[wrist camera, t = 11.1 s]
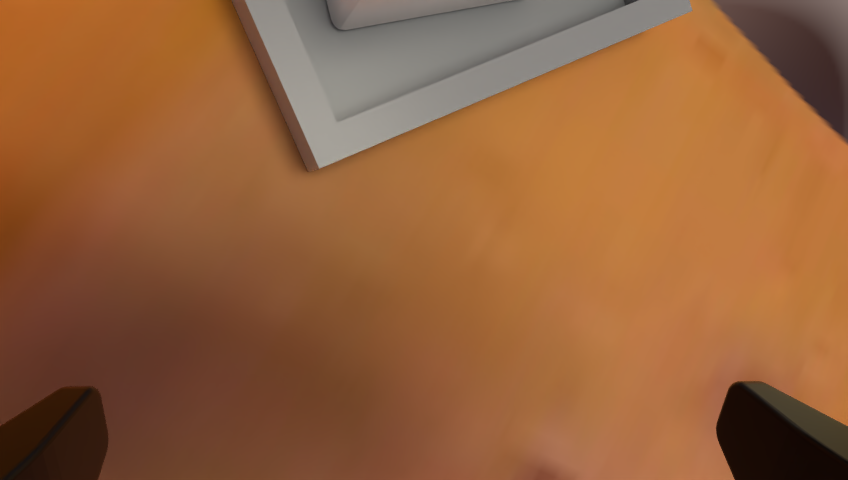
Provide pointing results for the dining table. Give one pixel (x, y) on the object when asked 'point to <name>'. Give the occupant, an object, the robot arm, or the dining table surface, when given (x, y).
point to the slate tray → (420, 61)
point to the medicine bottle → (392, 10)
